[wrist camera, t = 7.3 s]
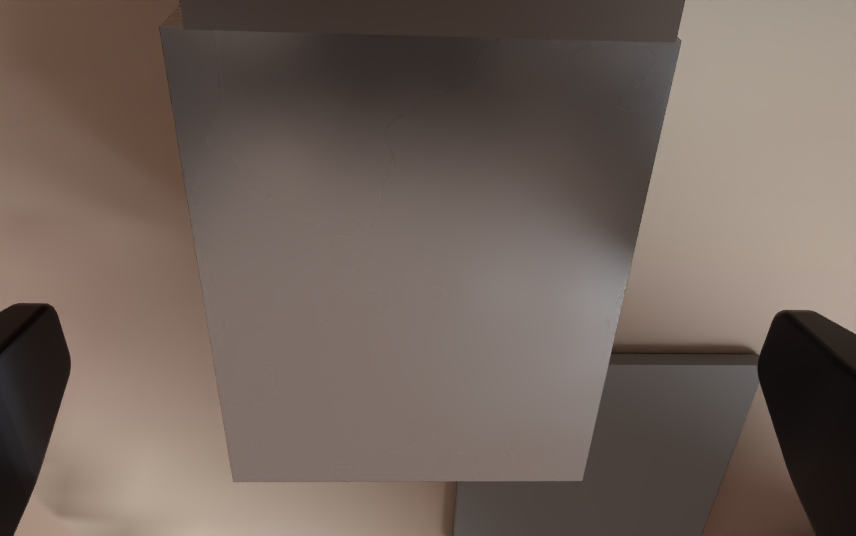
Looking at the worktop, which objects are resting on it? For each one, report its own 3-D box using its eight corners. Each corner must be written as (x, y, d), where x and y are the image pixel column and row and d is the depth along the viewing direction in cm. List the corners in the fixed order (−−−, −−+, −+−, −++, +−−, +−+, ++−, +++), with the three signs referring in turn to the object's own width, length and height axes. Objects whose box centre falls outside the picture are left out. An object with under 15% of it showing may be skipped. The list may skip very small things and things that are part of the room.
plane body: (494, 301, 17) (550, 605, 11) (315, 300, 16) (266, 607, 10) (583, -524, 9) (921, -1067, 3) (265, -544, 9) (11, -1159, 3)
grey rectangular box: (549, 358, 14) (582, 481, 12) (262, 356, 14) (232, 481, 12) (613, -23, 10) (681, 40, 8) (217, -36, 10) (158, 26, 8)
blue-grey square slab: (691, 538, 22) (695, 550, 21) (451, 539, 21) (453, 552, 21) (758, 354, 18) (765, 365, 17) (468, 352, 17) (470, 364, 17)
